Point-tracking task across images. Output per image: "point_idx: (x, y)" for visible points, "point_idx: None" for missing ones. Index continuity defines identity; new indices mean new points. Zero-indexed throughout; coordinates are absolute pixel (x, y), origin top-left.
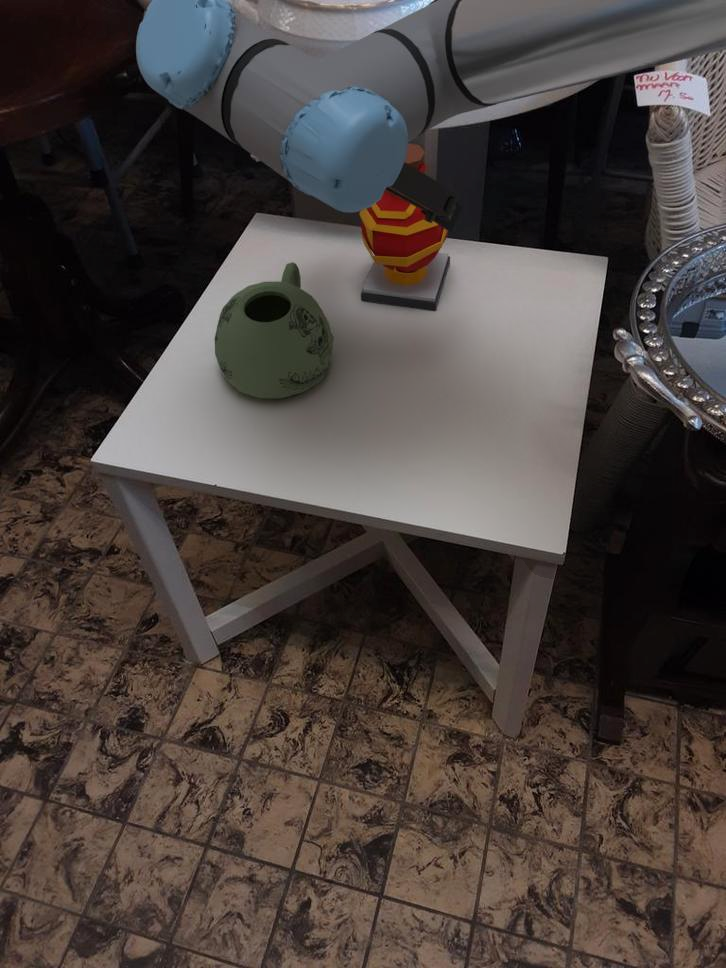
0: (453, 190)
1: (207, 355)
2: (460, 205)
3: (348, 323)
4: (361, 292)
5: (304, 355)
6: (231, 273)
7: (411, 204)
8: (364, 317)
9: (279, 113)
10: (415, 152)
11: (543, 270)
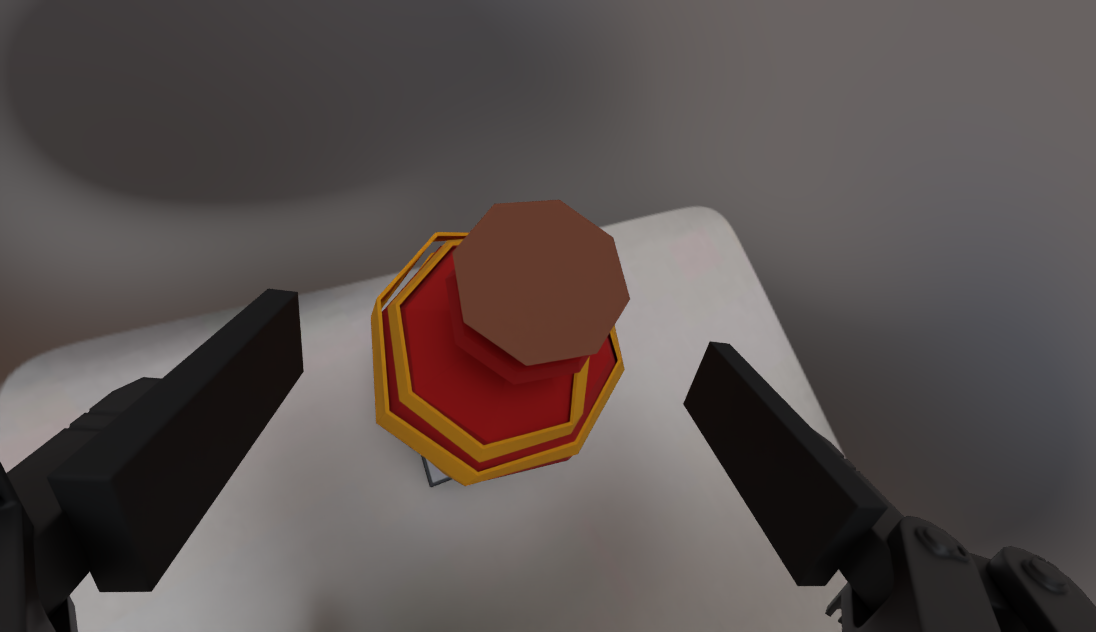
0: (1064, 583)
1: None
2: (738, 354)
3: (445, 569)
4: (429, 483)
5: None
6: None
7: (576, 387)
8: (466, 528)
9: None
10: (579, 254)
11: (665, 242)
